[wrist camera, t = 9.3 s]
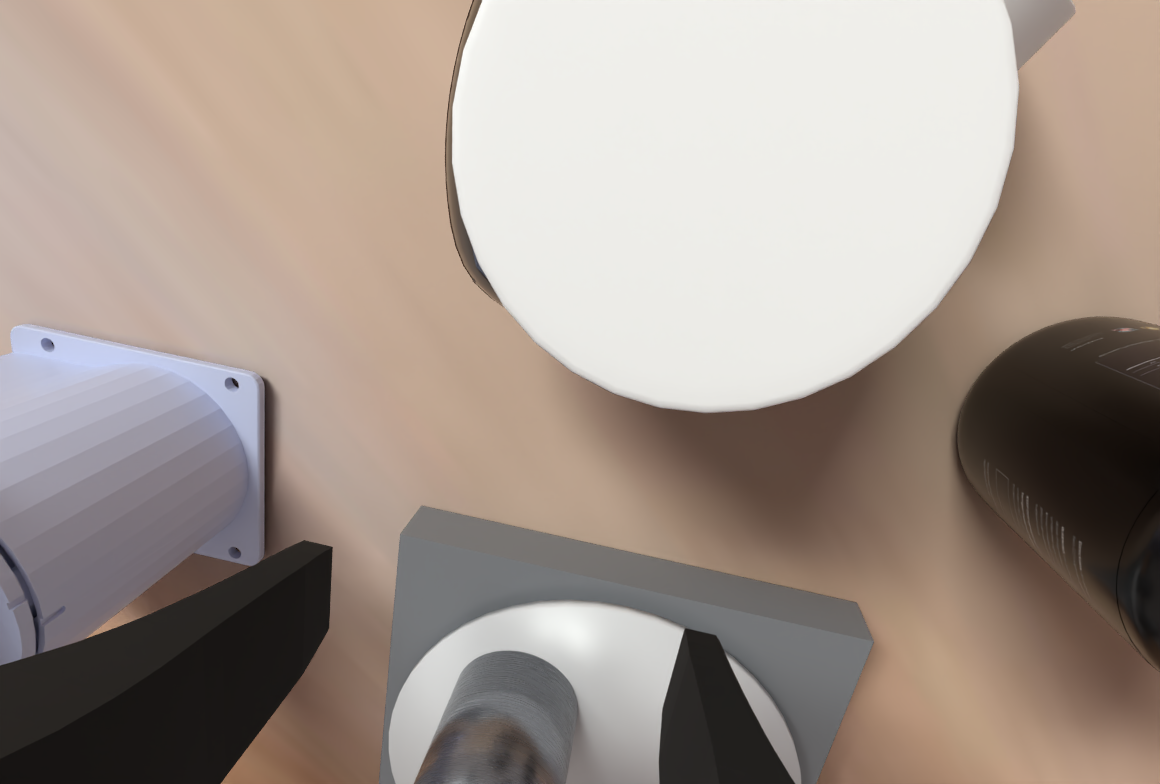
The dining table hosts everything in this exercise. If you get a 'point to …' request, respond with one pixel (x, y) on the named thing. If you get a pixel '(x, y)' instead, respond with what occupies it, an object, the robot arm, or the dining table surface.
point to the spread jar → (730, 179)
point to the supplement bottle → (1078, 461)
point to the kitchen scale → (607, 643)
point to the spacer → (504, 724)
